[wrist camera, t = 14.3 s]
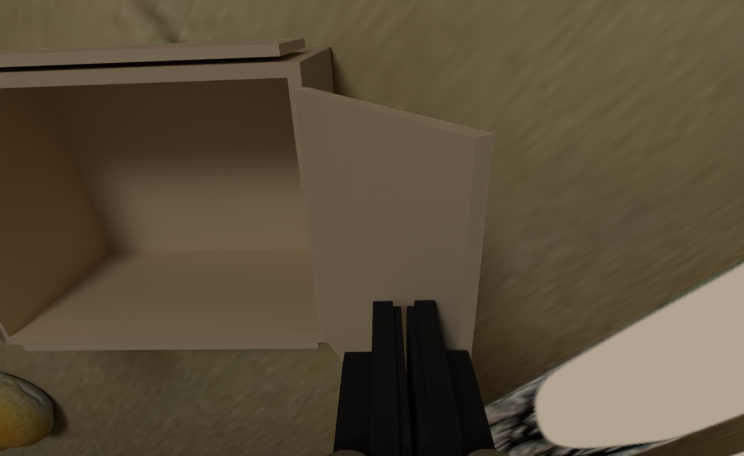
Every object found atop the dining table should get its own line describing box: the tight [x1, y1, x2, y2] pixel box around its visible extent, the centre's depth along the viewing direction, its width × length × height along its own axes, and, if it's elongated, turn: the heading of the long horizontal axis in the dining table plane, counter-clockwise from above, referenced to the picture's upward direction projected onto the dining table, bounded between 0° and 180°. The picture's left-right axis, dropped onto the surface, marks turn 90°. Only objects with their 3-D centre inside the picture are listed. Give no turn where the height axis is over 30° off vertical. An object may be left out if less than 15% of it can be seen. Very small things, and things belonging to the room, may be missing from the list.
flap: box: [294, 87, 495, 365], centre depth 13 cm, size 1×11×9 cm
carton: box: [0, 38, 334, 351], centre depth 21 cm, size 17×14×9 cm
